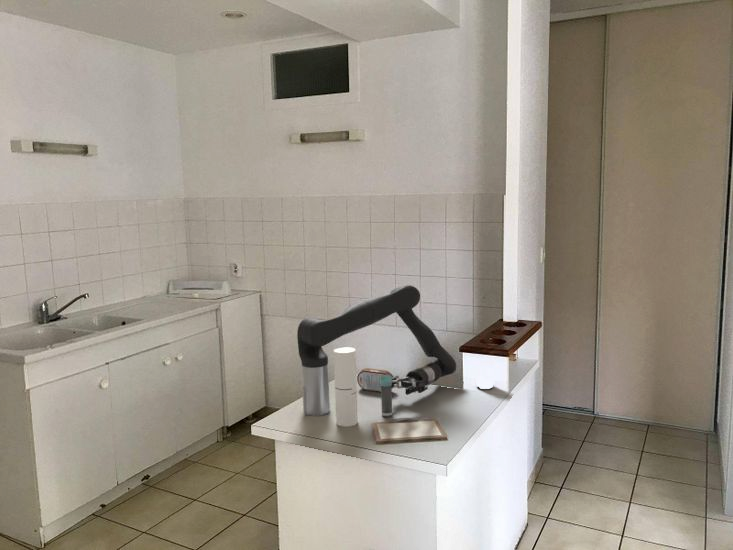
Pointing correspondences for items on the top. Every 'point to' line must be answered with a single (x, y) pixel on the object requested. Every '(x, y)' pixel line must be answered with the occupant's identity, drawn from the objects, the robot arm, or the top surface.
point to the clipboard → (408, 430)
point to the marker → (386, 395)
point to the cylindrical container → (345, 386)
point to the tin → (371, 379)
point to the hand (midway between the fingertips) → (396, 389)
